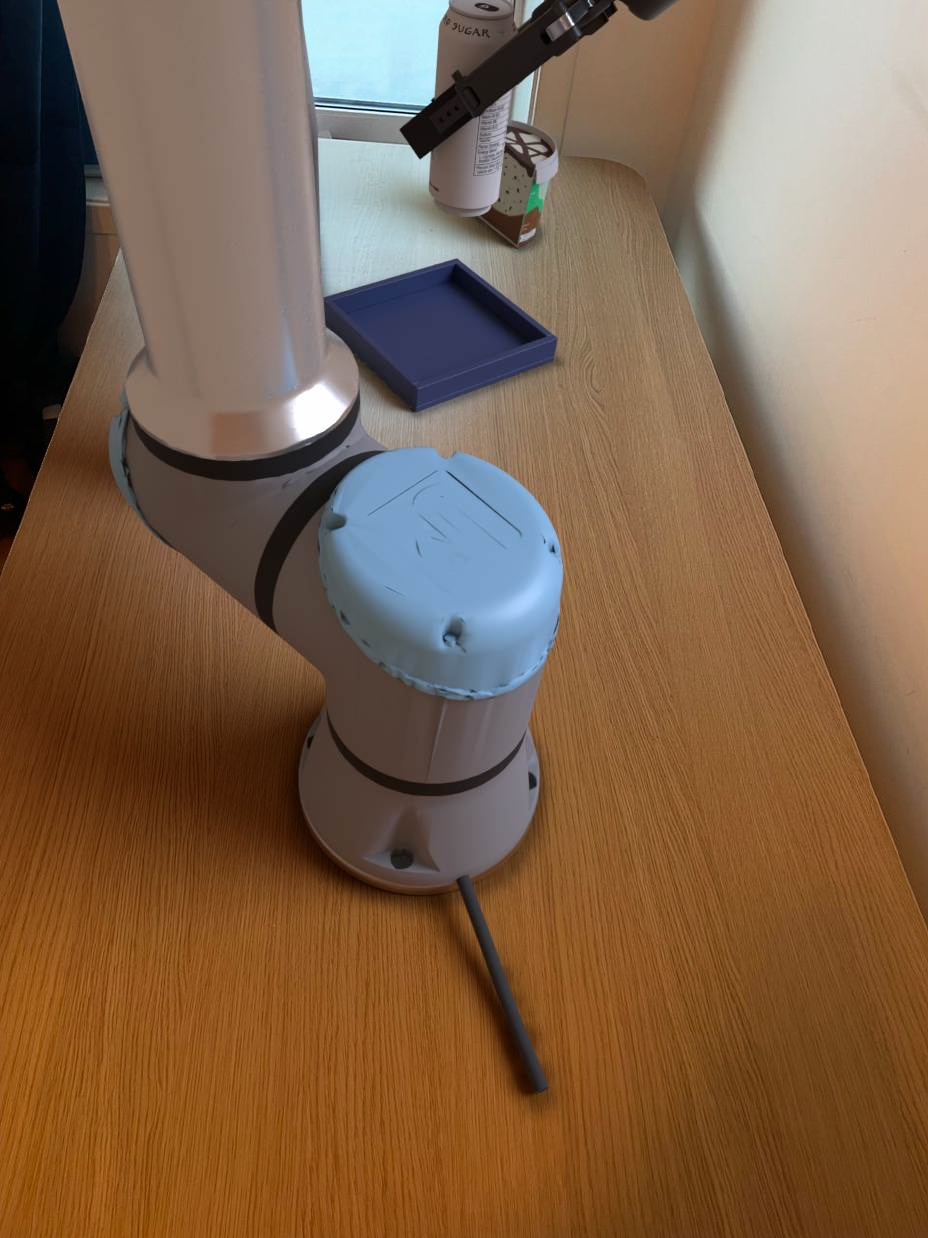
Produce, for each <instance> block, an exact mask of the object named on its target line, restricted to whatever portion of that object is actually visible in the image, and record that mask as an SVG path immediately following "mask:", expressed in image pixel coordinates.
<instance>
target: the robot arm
mask: <svg viewBox="0 0 928 1238" xmlns="http://www.w3.org/2000/svg"><path fill="white" fill-rule="evenodd" d="M616 1H617V0H544V1H543V2H541V3H540V4H539V5H537V6H536V7H535V8H534V9H533V11H532V12H531V15H530V16H531V17H529V18H528V19H527V20H525V22H523V23H522V24H521V25H520V26H519V27H517V30H518V34H516V35H515V36H514V37H513V38H512V39H510V40H509V41H508V42H507V43H506V44H504V45H503V46H502V47H501V48H500V49H499V50H497V51H496V52H495V53H494V54H493V55H491V56H490V57H489V58H488V59H487V60H485V61H484V62H483V63H482V64H481V65H480V66H478V67H477V68H476V69H475V70H474V71H472V72H471V73H470V74H469V75H468V76H462V74H461V73H460V71H459V70H456V71H455V72H454V73H453V74H452V75H451V77H452V78H453V80H454V82H455V83H454V84H453V85H452V86H450V87H449V88H448V89H447V90H446V91H444V92H443V93H442V94H441V95H440V96H438V97H437V98H436V99H435V100H434V97H432V98H431V99H430V103H428V104H427V105H426V106H425V107H423V108H422V109H421V110H420V111H418V112H417V113H416V114H415V115H414V116H413V117H412V118H411V119H409V120H408V121H407V122H405V123H404V124H403V125H402V126H401V127H400V128H399V129H398V131H399V132H400V133H401V135H402V136H403V138H404V139H405V141H406V142H407V144H408V145H409V147H410V148H411V149H412V151H413V153H414V154H415V155H416V156H417V159H418V160H419V161H420V160H422V159H423V158H424V157H425V156H427V155H428V154H429V153H431V151H432V150H433V149H434V148H436V147H437V146H438V145H440V144H441V143H442V142H443V141H445V140H446V139H447V138H449V137H450V136H451V135H452V134H454V133H455V132H456V131H458V130H459V129H460V128H461V127H463V126H464V125H465V124H466V123H468V122H469V121H470V120H472V119H473V118H477V117H478V116H479V117H480V116H481V115H482V114H484V111H485V110H486V109H487V108H488V107H490V106H491V105H492V104H493V103H495V102H496V101H497V100H498V99H500V98H501V97H502V96H504V95H505V94H506V93H507V92H509V91H510V90H511V89H512V90H513V89H514V88H515V87H516V86H518V85H520V84H521V83H522V82H523V81H524V80H525V79H527V78H528V77H529V76H530V75H532V74H533V73H534V72H535V71H536V70H538V69H539V68H540V67H542V66H543V65H544V64H546V63H547V62H548V61H550V60H551V59H552V58H553V57H555V58H556V57H560V56H563V54H565V53H566V52H567V51H569V50H570V49H571V48H572V47H573V46H574V45H576V44H577V43H579V41H581V40H582V39H583V38H584V37H586V36H592V35H594V34H595V33H596V32H598V31H599V30H600V29H602V27H604V26H606V24H607V23H609V22H610V19H609V18H612V16H613V15H615V14H616V13H617V12H618V11H619V8H618V7H617V5H616V3H615V2H616ZM679 1H680V0H618V2H620V3H622V4H623V5H625V6H626V7H627V8H628V11H629V12H630V13H631V14H632V15H634V16H635V17H636V18H638V19H639V20H642V21H648V22H649V21H650V22H651V21H654V20H656V18H658V17H659V16H660V15H662V14H663V13H664V12H666V11H667V10H668V9H670V8H671V7H673V6H674V5H675V4H676V3H678V2H679ZM56 2H57V5H58V10H59V13H60V14H59V15H60V18H61V22H62V25H63V30H64V33H65V38H66V41H67V45H68V48H69V52H70V57H71V60H72V64H73V68H74V72H75V75H76V79H77V84H78V88H79V91H80V95H81V100H82V103H83V108H84V112H85V114H86V120H87V123H88V126H89V130H90V134H91V138H92V142H93V146H94V150H95V154H96V158H97V161H98V166H99V170H100V174H101V177H102V181H103V185H104V189H105V193H106V197H107V201H108V204H109V208H110V212H111V216H112V221H113V224H114V228H115V232H116V235H117V239H118V243H119V247H120V251H121V255H122V259H123V263H124V267H125V271H126V275H127V278H128V282H129V286H130V290H131V294H132V299H133V302H134V306H135V309H136V313H137V317H138V320H139V321H138V322H139V325H140V329H141V334H142V337H143V342H144V346H143V347H142V348H141V349H140V350H139V351H138V352H137V354H136V355H135V357H134V358H133V360H132V361H131V363H130V365H129V367H128V370H127V372H126V377H125V384H124V387H123V389H122V391H121V393H120V396H119V398H118V399H119V403H121V405H122V406H123V407H122V410H121V412H120V414H118V415H115V416H112V418H111V420H110V425H109V433H108V453H109V454H108V455H109V456H108V457H109V463H110V468H111V472H112V475H113V478H114V481H115V483H116V486H117V487H118V489H119V491H120V493H121V495H122V497H123V498H124V500H125V501H126V503H127V504H128V505H129V507H130V508H131V509H132V510H133V511H134V512H135V513H136V515H137V516H138V517H139V520H141V522H142V523H143V524H144V526H145V527H146V528H147V529H148V530H149V531H150V533H152V534H153V535H154V537H156V538H157V539H158V540H160V541H161V542H162V543H163V544H165V545H166V546H168V547H169V548H171V549H173V550H174V551H176V552H178V553H180V554H181V555H182V556H184V557H185V558H186V560H188V562H191V564H193V565H194V566H195V567H197V569H199V570H200V571H201V572H202V573H203V574H205V575H206V576H207V577H208V578H209V579H211V580H212V581H213V582H214V583H215V584H217V586H219V587H221V589H223V590H224V591H225V592H226V593H227V594H229V596H231V597H232V598H233V599H235V601H237V602H238V603H239V604H240V605H242V606H243V607H244V608H245V609H246V610H248V611H249V612H250V613H251V614H252V615H253V616H254V617H256V618H257V619H258V620H259V621H261V623H263V624H264V625H265V626H266V627H267V628H268V629H270V630H271V631H272V632H274V633H275V634H276V635H277V636H278V637H279V638H281V639H282V640H283V641H284V642H285V643H287V645H288V646H290V647H291V648H292V649H294V650H295V652H297V653H298V654H300V655H301V656H302V657H303V658H304V659H305V660H306V661H307V662H308V663H309V664H311V665H312V666H313V667H315V669H316V670H318V672H319V673H320V674H321V676H322V677H323V678H324V680H325V681H324V682H325V683H324V684H325V702H324V704H323V706H322V708H321V709H320V712H319V714H318V715H317V716H316V718H315V720H314V721H313V723H312V724H311V727H310V729H309V731H308V732H307V735H306V738H305V740H304V742H303V746H302V750H301V755H300V760H299V766H298V793H299V802H300V808H301V811H302V815H303V819H304V822H305V824H306V827H307V828H308V831H309V833H310V835H311V836H312V838H313V839H314V841H315V843H316V844H317V845H318V847H319V848H320V849H321V850H322V852H323V853H324V854H325V855H326V856H327V857H328V858H329V859H330V860H331V861H332V863H334V864H335V865H336V866H337V867H338V868H340V869H341V870H343V871H344V872H345V873H347V874H348V875H350V876H351V877H353V878H355V879H356V880H358V881H360V882H363V883H364V884H368V885H369V886H371V887H375V888H377V889H381V890H383V891H386V892H392V893H395V894H403V895H411V896H412V895H413V896H427V895H439V894H445V893H450V892H454V891H458V890H459V892H460V895H461V898H462V901H463V903H464V906H465V909H466V912H467V915H468V917H469V920H470V923H471V926H472V929H473V931H474V934H475V937H476V940H477V942H478V946H479V948H480V951H481V953H482V957H483V960H484V962H485V965H486V968H487V970H488V971H487V972H488V974H489V977H490V980H491V983H492V986H493V988H494V990H495V994H496V996H497V999H498V1001H499V1005H500V1007H501V1009H502V1012H503V1015H504V1017H505V1020H506V1023H507V1026H508V1028H509V1030H510V1033H511V1036H512V1039H513V1041H514V1044H515V1046H516V1049H517V1052H518V1053H519V1056H520V1059H521V1061H522V1064H523V1067H524V1069H525V1071H526V1074H527V1077H528V1079H529V1082H530V1085H531V1088H532V1090H533V1092H534V1093H535V1095H537V1094H540V1093H543V1092H545V1091H547V1090H548V1089H550V1086H549V1084H548V1081H547V1078H546V1076H545V1073H544V1071H543V1069H542V1067H541V1064H540V1061H539V1059H538V1057H537V1054H536V1051H535V1049H534V1046H533V1044H532V1041H531V1040H530V1037H529V1034H528V1032H527V1029H526V1027H525V1024H524V1022H523V1019H522V1016H521V1014H520V1010H519V1009H518V1006H517V1003H516V1000H515V998H514V995H513V993H512V990H511V987H510V985H509V982H508V979H507V976H506V974H505V970H504V968H503V966H502V962H501V959H500V957H499V954H498V951H497V949H496V946H495V942H494V940H493V938H492V937H493V936H492V934H491V932H490V929H489V927H488V923H487V921H486V918H485V916H484V913H483V910H482V908H481V904H480V902H479V900H478V896H477V894H476V891H475V888H474V886H473V885H474V884H477V883H478V882H480V881H483V880H484V879H486V878H487V877H489V876H491V875H492V874H494V873H495V872H496V871H497V870H499V869H500V868H501V867H502V866H503V865H505V864H506V863H507V862H508V861H509V860H510V859H511V858H512V857H513V856H514V854H515V853H516V852H517V850H518V849H519V848H520V847H521V845H522V844H523V842H524V840H525V839H526V837H527V834H528V833H529V830H530V828H531V825H532V823H533V819H534V817H535V813H536V810H537V805H538V802H539V795H540V778H541V777H540V764H539V758H538V757H539V756H538V753H537V749H536V745H535V743H534V742H535V741H534V740H533V735H532V732H531V729H530V725H529V722H530V720H531V716H532V713H533V708H534V705H535V702H536V699H537V694H538V692H539V687H540V684H541V681H542V677H543V673H544V668H545V666H546V663H547V659H548V655H549V653H550V652H551V650H552V648H553V646H554V644H555V639H556V637H557V633H558V629H559V625H560V616H561V615H560V614H561V597H562V589H563V581H564V580H563V579H564V565H563V558H562V554H561V553H562V552H561V551H562V549H561V544H560V540H559V537H558V535H557V533H556V531H555V530H556V529H555V528H554V526H553V524H552V521H551V520H550V518H549V516H548V514H547V513H546V511H545V509H544V508H543V506H542V505H541V504H540V503H539V501H538V500H537V499H536V498H535V496H534V495H533V494H532V493H531V492H530V491H529V490H528V489H527V488H525V486H523V485H522V483H520V482H519V481H518V480H517V479H515V478H514V477H513V476H511V475H510V474H509V473H507V472H506V471H504V470H502V469H501V468H499V467H497V466H496V465H494V464H492V463H490V462H488V461H486V460H484V459H481V458H480V457H477V456H474V455H471V454H469V453H465V452H462V451H457V450H455V451H453V452H452V454H451V456H450V457H443V456H441V455H440V454H439V453H438V451H437V450H436V447H433V446H432V447H431V446H409V447H400V448H395V449H389V448H388V447H386V446H384V445H383V444H382V443H381V442H379V441H377V440H376V438H373V437H372V436H371V435H369V434H368V433H367V431H366V430H365V428H364V426H363V423H362V413H361V410H362V409H361V392H360V391H361V388H360V387H361V386H360V373H359V366H358V364H357V360H356V358H355V356H354V353H353V352H352V351H351V350H350V349H349V347H348V346H347V345H346V344H345V343H344V341H343V340H342V339H341V338H340V337H338V336H337V335H336V334H335V333H333V332H332V331H331V330H330V329H328V328H327V327H326V326H325V312H324V299H323V297H324V288H323V273H322V257H321V258H320V247H321V244H320V245H319V231H318V217H317V204H316V190H315V177H314V163H313V150H312V136H311V123H310V109H309V95H308V82H307V68H306V55H305V41H304V32H305V27H304V28H303V25H304V16H303V3H302V2H303V1H302V0H56Z"/></svg>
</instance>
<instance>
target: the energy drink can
mask: <svg viewBox="0 0 928 1238" xmlns="http://www.w3.org/2000/svg"><path fill="white" fill-rule="evenodd" d="M514 9H515V8H514V5H513V4H512V3H511V2H510V1H509V0H448V8H447V10H446V12H445V13H444V14H443V17H442V18H441V20H440V22H439V24H438V37H437V51H436V53H437V54H436V68H435V80H434V81H435V82H434V96H433V98H434V100H435V99H436V98H437V97H438V96H440V95H441V94H442V93H443V92H444V91H446V90H447V89H448V88H449V87H450V86H452V85H453V84H454V83H455V82H454V80H453V78H452V77H451V75H452V74H453V73H454V72H455V71H456V70H459V71H460V73H461V74H462V76H468V75H469V74H470V73H471V72H472V71H474V70H475V69H476V68H477V67H478V66H480V65H481V64H482V63H483V62H484V61H485V60H487V59H488V58H489V57H490V56H491V55H493V54H494V53H495V52H496V51H497V50H499V49H500V48H501V47H502V46H503V45H504V44H506V43H507V42H508V41H509V40H510V39H512V38H513V37H514V36H515V35H516V34H518V30H517V28H518V27H517V25H516V22H515V19H514V15H513V13H514ZM512 90H513V88H512V89H511V90H510V91H509V92H507V93H506V94H505V95H504V96H502V97H501V98H500V99H498V100H497V101H496V102H495V103H493V104H492V105H491V106H490V107H488V108H487V109H486V110H485V111H484V114H482V115H481V116H480V117H479V116H478V117H477V118H473V119H472V120H470V121H469V122H468V123H466V124H465V125H464V126H463V127H461V128H460V129H459V130H458V131H456V132H455V133H454V134H452V135H451V136H450V137H449V138H447V139H446V140H445V141H443V142H442V143H441V144H440V145H438V146H437V147H436V148H434V149H433V150H432V151H431V152H430V156H429V157H430V158H429V159H430V161H429V176H428V193H429V194H430V196H431V197H432V198H433V202H434V204H435V206H436V207H437V208H438V209H439V210H441V211H443V212H444V213H446V214H449V215H452V216H456V217H462V218H471V217H478V216H479V215H482V214H484V213H486V212H488V211H489V210H490V208H491V205H492V204H493V203H495V202H496V201H497V199H498V196H499V188H500V180H501V172H502V164H503V156H504V148H505V140H506V131H507V123H508V119H509V116H510V115H509V114H510V107H511V99H512Z"/></svg>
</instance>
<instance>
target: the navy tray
mask: <svg viewBox="0 0 928 1238" xmlns="http://www.w3.org/2000/svg"><path fill="white" fill-rule="evenodd" d="M323 299H324V312H325V326H326V328H328V329H329V330H331V331H332V332H333V333H335V334H336V335H337V336H338V337H340V338H341V339H342V340H343V341H344V343H345V344H346V345H347V346H348V347H349V349H350V350H351V352H352V354H354V355H355V356H356V357H357V358H358V359H360V360H361V361H362V362H363V363H364V364H365V366H367V368H369V369H370V370H371V371H372V372H373V373H374V374H375V375H376V376H377V377H378V378H379V379H380V380H381V381H383V383H384V384H386V385H387V386H388V387H389V388H390V389H391V390H392V391H393V392H394V393H395V394H396V395H397V396H398V397H399V398H400V399H401V400H402V401H403V402H404V403H405V404H406V405H408V407H410V408H411V409H412V410H413V412H414V413H418V412H421V411H423V410H426V409H429V408H431V407H434V406H438V405H439V404H442V403H445V402H447V401H449V400H453V399H455V398H458V397H461V396H463V395H466V394H468V393H471V392H473V391H476V390H480V389H482V388H484V387H487V386H490V385H492V384H495V383H499V382H500V381H503V380H506V379H509V378H512V377H514V376H517V375H519V374H522V373H524V372H528V371H531V370H533V369H535V368H538V367H541V366H543V365H546V364H548V363H552V362H555V361H554V360H555V355H556V352H557V351H556V350H557V346H558V340H559V338H558V337H557V336H556V335H555V334H553V333H552V332H551V331H549V330H548V329H547V328H546V327H544V326H543V324H541V323H539V322H538V321H537V320H536V319H534V318H533V317H532V316H530V314H528V313H527V312H525V311H524V310H523V309H522V308H520V307H519V306H518V305H517V304H516V303H515V302H513V301H511V299H509V298H508V297H507V296H505V295H504V294H503V293H502V292H500V291H499V290H498V289H496V288H495V287H494V286H493V285H492V284H490V283H489V282H488V281H487V280H485V279H484V278H483V277H481V276H480V275H479V274H478V273H476V272H475V271H474V270H473V269H472V268H470V267H469V266H468V265H466V264H465V263H464V262H462V260H461V259H459V258H457V257H456V258H454V259H450V260H446V261H443V262H439V263H435V264H432V265H429V266H426V267H425V266H424V267H422V268H419V269H414V270H411V271H407V272H405V273H402V274H398V275H394V276H392V277H388V278H385V279H381V280H378V281H374V282H370V283H367V284H363V285H360V286H357V287H354V288H349V289H347V290H344V291H340V292H336V293H333V294H330V295H327V296H323Z"/></svg>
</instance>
